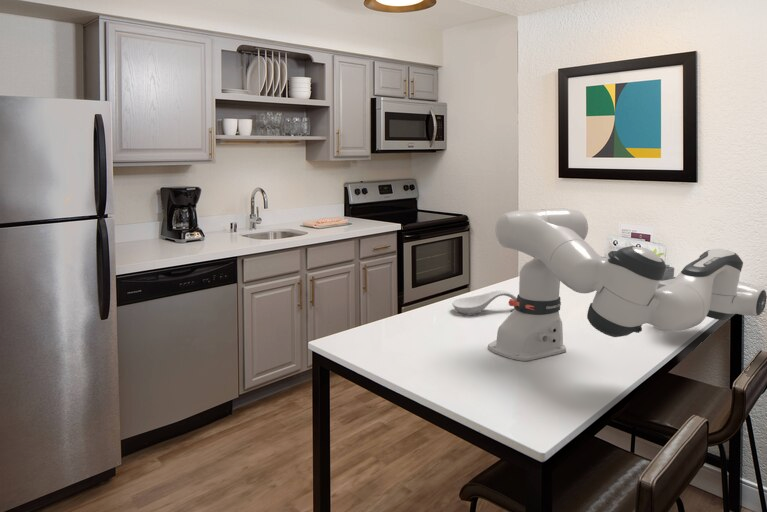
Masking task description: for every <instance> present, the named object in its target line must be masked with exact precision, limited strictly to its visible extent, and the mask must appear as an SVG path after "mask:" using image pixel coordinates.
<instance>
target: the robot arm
mask: <svg viewBox="0 0 767 512" xmlns="http://www.w3.org/2000/svg"><path fill="white" fill-rule="evenodd" d="M496 221H497V222H496V224H495V237H496V239H497V241H498V242H499V244H500V245H501V246H502V247H504V248H506V249H510V250H514V251H516V252H517V251H518V252H520V253H523V254H525V255H528V256H529V257H532V259H531V260H528V261H527V262H526V263H524V264H523V265H522V267H521V269H520V271H519V277H518V278H519V283H518V284H519V285H518V294H517V297H516V298H517V299H516V300H513V299H512V298H510V299H509V300H508V306H510V307H513V308H514V309H512V312H510V314H509V315H508V316H507V317H506V318H505V320H504V321H503V322H502V323H501V324H500V325H499V326H498V328H497V333H496V334H497V335H496V339H495V340H493V341H491V342H490V343H488V344H487V349H488V350H490V351H491V352H492V353H495V354H497V355H499V356H503V357H505V358H509V359H513V360H516V361H521V362H522V361H523V362H529V361H533V360H536V359H541V358H547V357H550V356H553V355H554V356H555V355H559V354H563V353H566V352H567V348H566V346H565V345H564V333H563V321H562V319H561V316H560V311H561V305H562V302H561V297H560V288H561V287H560V286H561V283H562V284H563V285H564V286H566V287H567V288H569V289H571V290H572V291H574V292H576V293H578V294H590V293H593V292H595V295H594V297H593V300H592V302H591V303H590V304H589V307H588V310H587V313H586V315H587V317H586V318H587V320H588V322H589V324H590V325H591V326H592V327H593V328H594V329H595V330H596V331H598V332H600V333H602V334H603V335H606V336H609V337H612V338H621V337H627V336H629V335H631V334H633V333H637V334H639V333H640V332H642V331H643V328H642V326H643V325H646V324H648V325H650V326H653V327H654V328H656V329H659V330H663V331H666V332H667V331H668V332H681V331H685V330H689V329H693V328H695V327H697V326H698V325H700V324H701V323H703V321H704V320H705V319H706V317H708V318H711V319H714V320H719V321H725V320H727V319H730V318H731V317H734V316H735V315H737V314H738V315H742V316H743V315H744V316H752V317H758V316H759V317H760V315H762V313H763V312H764V311H765V308H766V303H767V292H766V290H765V289H764V288H762V287H760V286H756V285H754V284H750V283H746V282H743V281H740V276H741V273H742V269H743V266H744V262H743V260H742V259H741V257H740V255H739V254H737V253H736V252H734V251H731V250H728V249H723V248H714V249H708V250H706V251H704V252H703V253H702V254H700V255H699V256H698V258H697V259H695V260H693V261H691V262H690V263H687V264H686V265H685V266H684V267H683V268H682V270H681V271H680V272H679V273H678V275H677V276H674V279H669V280H664V281H661V280H662V279H663V277H664V274H665V270H666V265H667V264H666V262H665V261H664V259H663V258H662V257H660V256H659V255H658V254H656V252H654V251H653V250H652V249H649V248H647V247H641V246H635V245H632V246H631V245H629V246H624V247H621V248H620V249H618V250H610V251H609V252H608V253H607V255H608V257H609V258H605V257H603V256H601V255H599V254H598V253H597V251H596V250H595V249H594V248H593V247H592V246H591V245H590V244H589V243H587V242H586V241H585V239H586V238H587V235H588V233H589V223H588V220H587V218H586V216H585V215H584V214H583V213H582V211H580V210H575V209H569V208H538V209H519V210H513V211H510V212H509V211H508V212H505V213H502V214H501V215H500V216H499V218H498V220H496Z"/></svg>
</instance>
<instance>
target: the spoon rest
mask: <svg viewBox="0 0 767 512" xmlns="http://www.w3.org/2000/svg"><path fill="white" fill-rule="evenodd" d="M503 296H505V297H508V298H510V299H513V300H516V299H517V297H516V295H514V294H513V293H512V292H510V291H506V290H500V289H499V290H495V291H489V292H486V293H483V294H478V295H474V296H467V297H462V298H458V299H456V300H455V299H454V301H453V302H452V307H453V308H454V309H455V310H456V311H457V312H458V313H460V314H463V315H468V314H475V315H478V313H479V314H480V313H481V312H482V311H484V310H485V309H486V308H487V307H488V306H489V304H491V302H493V301H494V300H496V298H499V297H503Z"/></svg>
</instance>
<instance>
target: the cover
mask: <svg viewBox="0 0 767 512" xmlns="http://www.w3.org/2000/svg"><path fill="white" fill-rule="evenodd" d="M674 277H675V267H673V266H670V264H666V270H665V274H664V277H663V279H662V280H661V281H664V280H669V279H674Z"/></svg>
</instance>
